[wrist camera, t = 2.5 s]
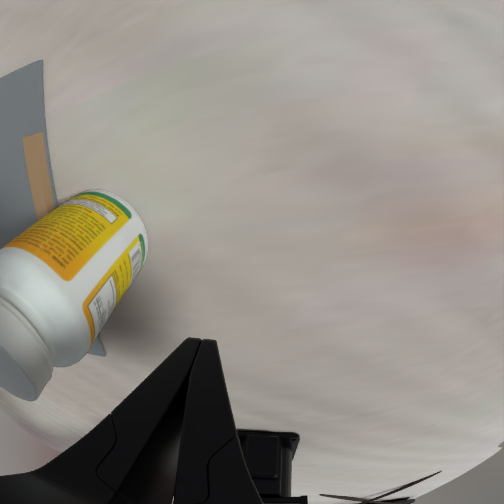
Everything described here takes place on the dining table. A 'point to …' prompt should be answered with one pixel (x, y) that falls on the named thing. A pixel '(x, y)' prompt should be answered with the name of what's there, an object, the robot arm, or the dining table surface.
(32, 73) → the grey flat board
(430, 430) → the dining table surface
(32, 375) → the supplement bottle
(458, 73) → the dining table surface
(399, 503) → the sushi plate
